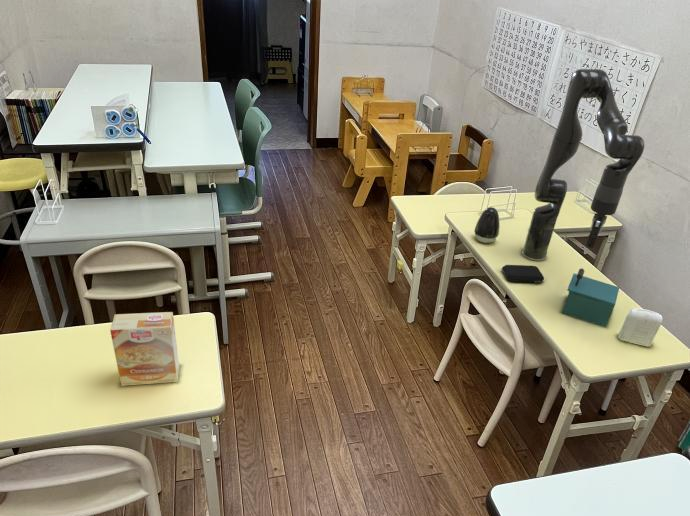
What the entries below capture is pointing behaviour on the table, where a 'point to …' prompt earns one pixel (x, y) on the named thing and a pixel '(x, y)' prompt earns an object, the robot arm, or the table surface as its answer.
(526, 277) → the carrying case
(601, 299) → the lid
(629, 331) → the photo printer
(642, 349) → the table surface
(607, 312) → the chest
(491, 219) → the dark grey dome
